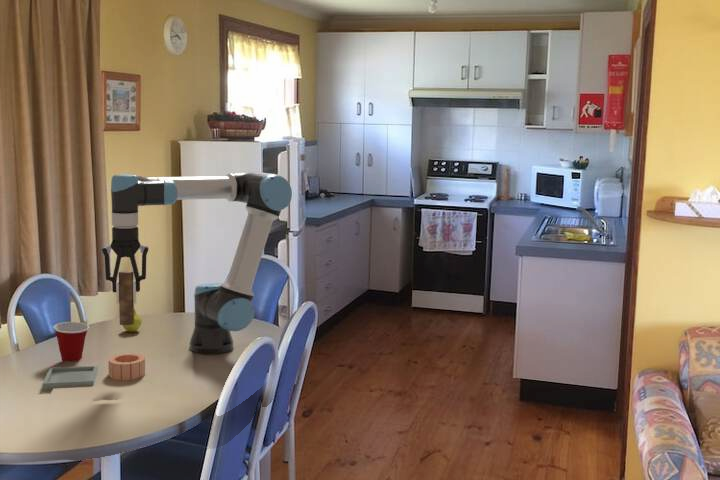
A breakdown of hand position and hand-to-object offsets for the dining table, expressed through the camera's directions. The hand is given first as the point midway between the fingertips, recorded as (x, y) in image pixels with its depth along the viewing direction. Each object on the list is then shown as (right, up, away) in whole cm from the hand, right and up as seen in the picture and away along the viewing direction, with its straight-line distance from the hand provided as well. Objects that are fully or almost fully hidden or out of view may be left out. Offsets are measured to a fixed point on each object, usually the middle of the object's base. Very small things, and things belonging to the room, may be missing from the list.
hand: (126, 302), depth 222 cm
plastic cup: (-23, -21, +16) cm, 35 cm away
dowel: (0, -7, +1) cm, 7 cm away
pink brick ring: (-1, -24, +4) cm, 24 cm away
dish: (-16, -24, -1) cm, 29 cm away
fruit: (-14, -16, +51) cm, 55 cm away
